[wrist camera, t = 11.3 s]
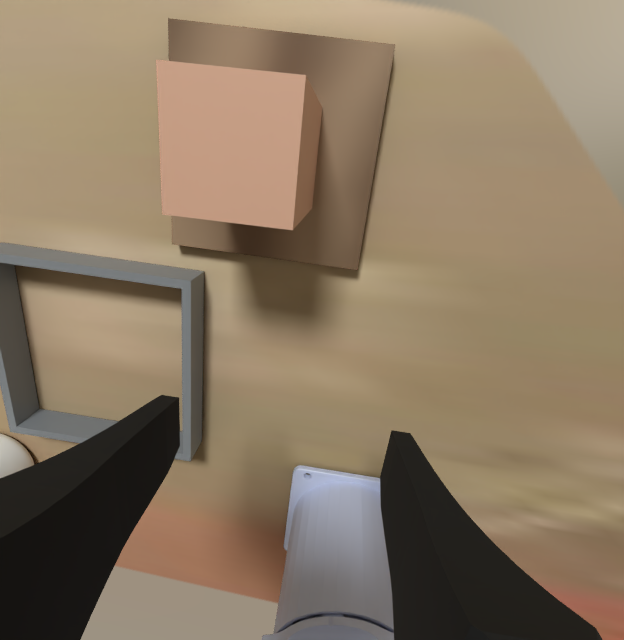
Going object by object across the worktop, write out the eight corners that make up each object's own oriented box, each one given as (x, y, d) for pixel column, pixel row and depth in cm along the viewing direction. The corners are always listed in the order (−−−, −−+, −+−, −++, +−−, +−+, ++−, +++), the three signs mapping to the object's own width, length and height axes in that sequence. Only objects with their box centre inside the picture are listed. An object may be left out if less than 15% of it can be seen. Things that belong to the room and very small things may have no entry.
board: (393, 49, 17) (395, 44, 17) (357, 266, 21) (357, 270, 21) (175, 24, 18) (168, 18, 17) (178, 241, 22) (172, 244, 21)
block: (322, 107, 18) (305, 74, 11) (312, 208, 20) (292, 230, 13) (226, 97, 18) (155, 59, 12) (224, 198, 20) (162, 214, 13)
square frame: (204, 271, 22) (190, 280, 20) (201, 440, 27) (190, 461, 25) (2, 242, 23) (-29, 249, 21) (33, 413, 27) (10, 431, 25)
